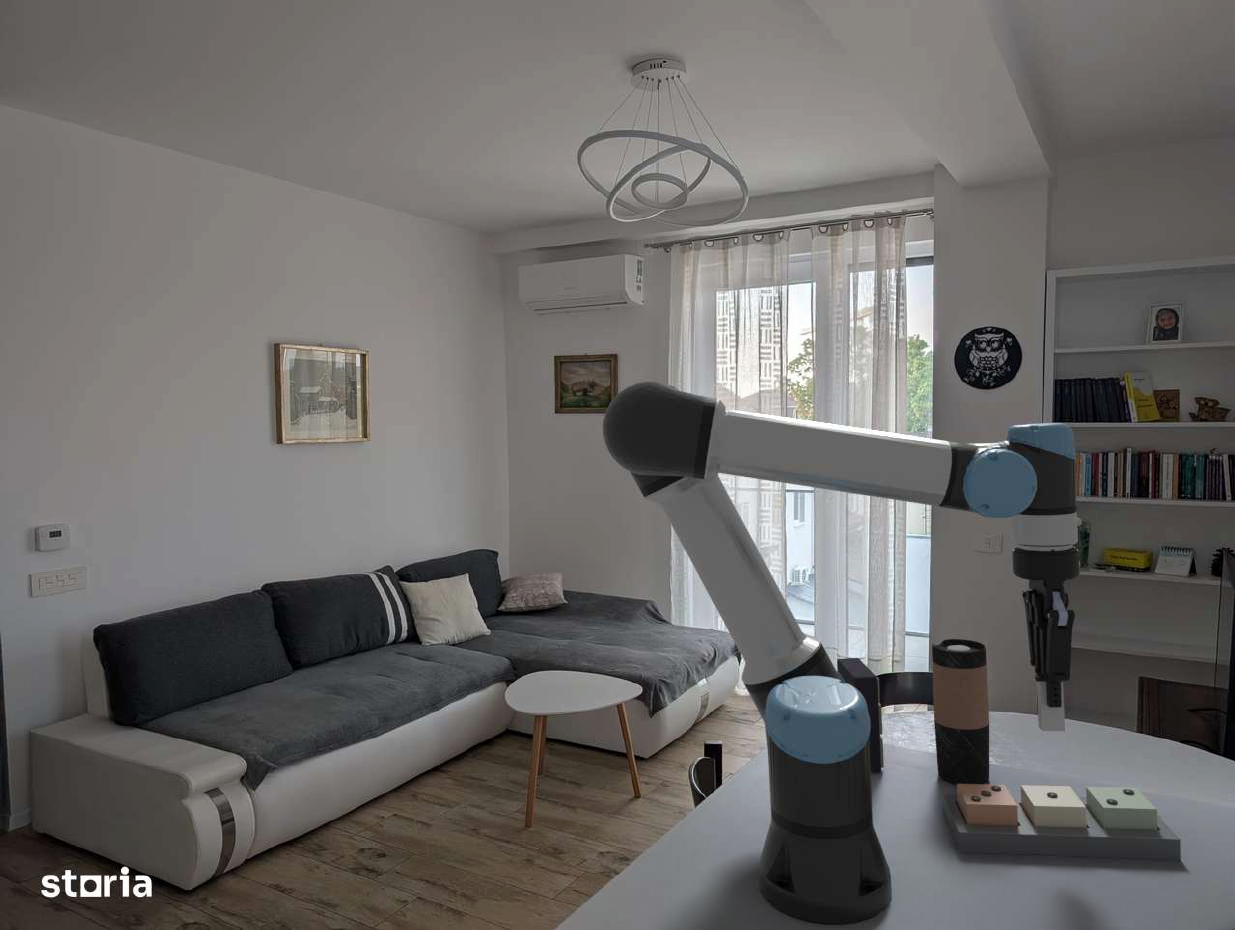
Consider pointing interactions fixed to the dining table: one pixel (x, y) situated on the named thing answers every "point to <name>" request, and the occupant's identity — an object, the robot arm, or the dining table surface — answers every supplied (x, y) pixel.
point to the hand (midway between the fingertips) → (1051, 728)
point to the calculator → (869, 688)
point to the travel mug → (961, 711)
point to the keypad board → (1060, 837)
